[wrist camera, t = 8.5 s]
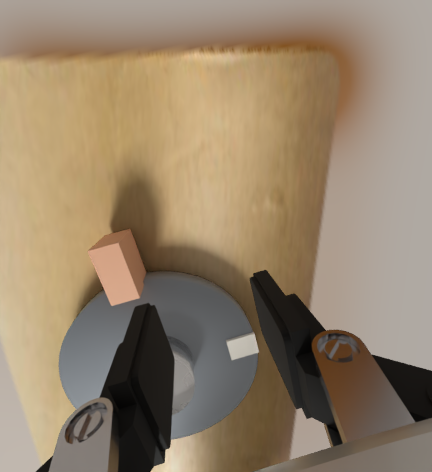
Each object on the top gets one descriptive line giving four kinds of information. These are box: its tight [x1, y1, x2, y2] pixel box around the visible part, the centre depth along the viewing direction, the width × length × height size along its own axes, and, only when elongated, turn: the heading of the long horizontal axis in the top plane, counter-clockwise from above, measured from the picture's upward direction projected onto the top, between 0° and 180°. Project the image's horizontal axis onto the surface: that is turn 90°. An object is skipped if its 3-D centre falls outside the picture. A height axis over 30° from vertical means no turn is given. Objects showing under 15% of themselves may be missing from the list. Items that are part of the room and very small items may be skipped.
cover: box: [167, 336, 195, 415], centre depth 24 cm, size 7×7×4 cm
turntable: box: [59, 229, 259, 439], centre depth 25 cm, size 25×20×4 cm
